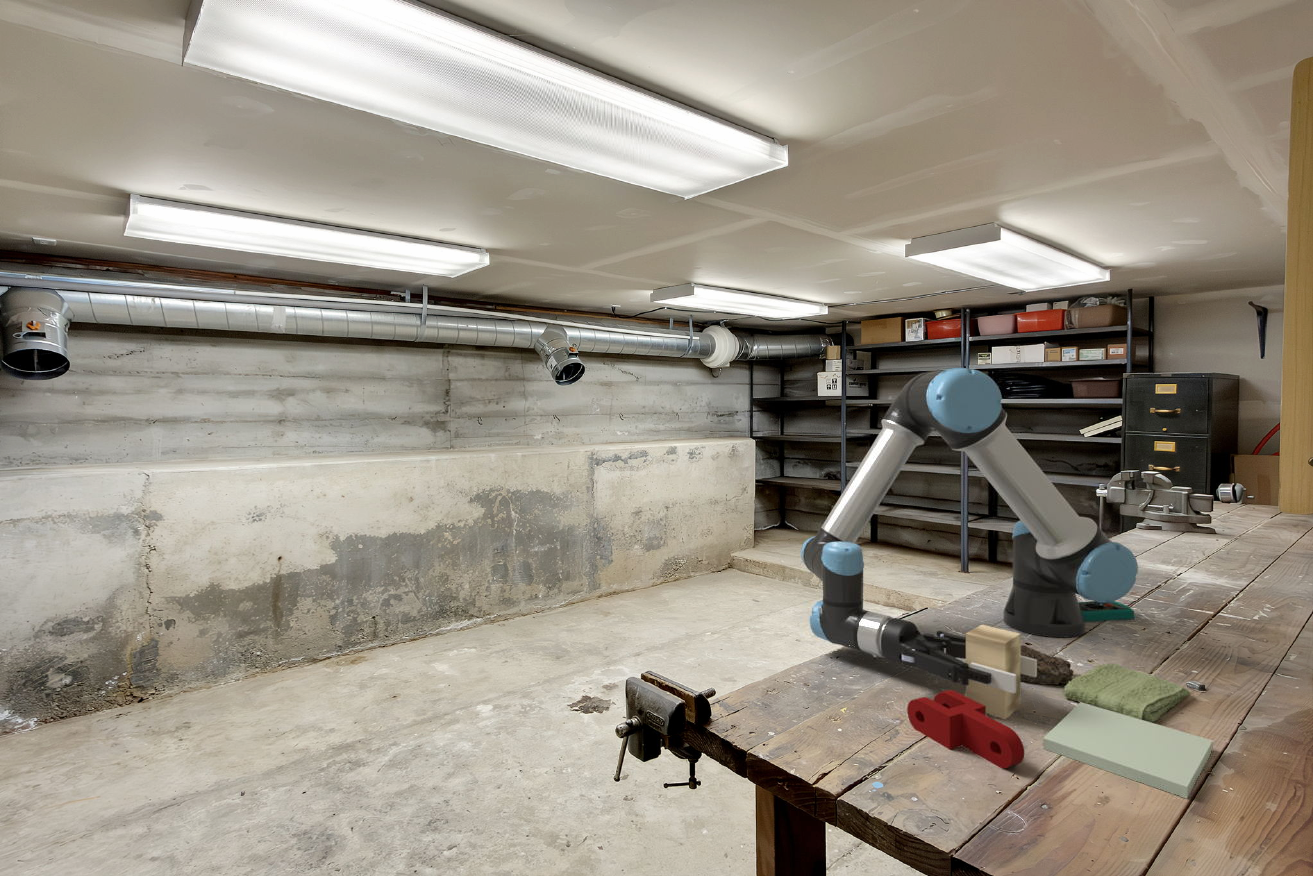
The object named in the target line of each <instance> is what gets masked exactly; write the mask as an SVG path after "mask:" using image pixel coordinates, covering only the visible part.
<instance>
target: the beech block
mask: <svg viewBox="0 0 1313 876" xmlns="http://www.w3.org/2000/svg"><path fill="white" fill-rule="evenodd" d="M1021 636H1022V635H1021V632H1020V633H1019V632H1015V631H1010V630H1008V629H1003V628H998V627H993V626H989V625H986V624H981V625H978V626H977V627H975V628H973V629H972V630H970V631H968V632H966V633H965V637H966V659H965V663H967V664H969V667H970V664H971V663H972V662H973V663H977V664H980V665H984V666H988V667H991V668H995V669H998V670H1002V671H1005V672H1009V673H1013V674H1016V693H1011V692H1007V691H1004V690H1001V689H997V688H994V687H991V686H988V685H984V684H981V683H978V682H974V681H971V680H970V679H969V685H965V696H966V697H968V698H970V699H972V700H974V701H976V702H978V703H980V704H982V705H984V706H986V715H987V714H988V715H991V716H993V717H997V718H1000V719H1003V720H1006V719H1008V718H1009V717H1010V716H1011V715H1012V714H1014V713H1015V712H1016V711H1017V710H1018V709H1020V708H1021V680H1020V664H1021V645H1022V644H1021V643H1022V642H1021Z"/></svg>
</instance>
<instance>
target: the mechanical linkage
mask: <svg viewBox="0 0 1313 876" xmlns="http://www.w3.org/2000/svg"><path fill="white" fill-rule="evenodd" d="M906 712H907V718H908V720H909V723H910V725H911V726H912V728H913V729H914V730H915V731H917V732H919V733H921V734H922V735H924V736H925V737H927V738H929V739H931V740H932V741H934V742H936V743H937V744H939V745H941V746H943V748H944V747H945V748H946V749H947V750H949V751H950V750H953V749H957V748H959V747H962V748H965V749H967V750H968V751H970V752H971V753H973V754H976V755H977V756H979V757H981V758H983V759H985V760H986V761H988V762H989V763H991V764H993V765H995V766H997V767H998V768H1000V769H1007V768H1010V767H1013V766H1015V765H1019V764H1021V763H1022V762H1023V760H1024V758H1025V748H1024V744H1023V741H1022V740H1021V738H1020V736H1019V735H1018V733H1016V731H1014V729H1012V728H1011V727H1010V726H1008V725H1006V724H1004V723H1002V722H999V721H997V720H996V719H993V718H991V717H990V716H988V715H987V713H986V706H984V705H982V704H980V703H978V702H976V701H974V700H972V699H970V698H968V697H966V695H964V694H962V693H960V692H958V691H956V690H953V689H949V690H944V691H941V692H937V693H935V695H934V698H933V699H931V698H929V697H926V696H922V697H918V698H914V699H911V700H910V701H909V703H908V704H907V708H906Z"/></svg>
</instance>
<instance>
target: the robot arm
mask: <svg viewBox="0 0 1313 876" xmlns="http://www.w3.org/2000/svg"><path fill="white" fill-rule="evenodd" d="M1002 400H1003V397H1002V393H1001V390H1000V388H999V386H998V385H997V383H996V382H995V381H994V380H993V379H992V378H991V376H989V375H987V374H986V373H984V372H982V371H980V370H977V369H972V368H966V367H965V368H964V367H954V368H948V369H945V370H932V371H925V372H923V373H919V374H918V375H915V377H913V378H912V379H910V380H909V381H908V382H907V383H906V384H905V385H904V386H903V388H902V389H901V390H900V392H899V393H898V394H897V396H896V397H895V398H894V400H893V402H892V403H891V405H890V407H889V408H888V410H886V413H885V414H884V416H883V417H882V419H881V421H880V422H881V425H882V429H881V430H880V432H879V434H878V435H877V436H876V438H875V440H874V442H873V443H872V445H871V447H870V448H869V450H868V451H867V453H866V455H865V456H864V458H862V459H863V460H862V461H861V463H860V464H859V466H858V467H857V468H856V471H855V472H854V474H853V475H852V477H851V479H850V481H849V482H848V483H847V485H846V487H845V488H844V490H843V491H842V493H841V495H840V497H839V498H838V500H837V502H836V503H835V504H834V506H833V508H832V510H831V511H830V513H829V514H828V516H827V517H826V519H825V521H824V523H823V524H822V525H821V527H820V528H819V530H818V531H817V533H816V534H815V536H812V537H809V538H808V539H807V540H805V541H804V543H803V544H802V546H801V550H800V557H801V560H802V562H803V564H804V566H805V567H806V568H807V569H808V571H809V572H811V573H812V574H813V575H815V576H816V578H818V579H819V580H820V581H821V582H822V600H819V601H817V602H815V604H814V605H813V607H812V609H811V615H810V616H809V627H810V629H811V632H812V634H814V636H816V637H817V638H819V639H822V640H824V641H827V642H829V643H831V644H834V645H839V646H842V647H847V648H850V649H853V650H858V651H860V652H861V653H862V652H863V653H866V654H870V655H872V657H873V658H878V657H880V658H883V659H884V658H885V659H887V661H891V662H894V663H898V664H901V665H903V666H907V667H910V668H915V669H918V670H920V671H923V672H926V673H929V674H931V675H934V676H936V677H939V678H942V679H944V680H947V681H949V682H952V683H954V684H958V683H961V686H962V685H963V686H966V685H969V679H970V680H971V681H974V682H978V683H981V684H984V685H988V686H991V687H994V688H997V689H1001V690H1004V691H1007V692H1011V693H1016V674H1013V673H1009V672H1005V671H1002V670H998V669H995V668H991V667H988V666H984V665H980V664H977V663H973V662H972V663H971V664H970V667H969V664H967V663H966V661H963V660H966V636H962V635H956V634H951V633H949V632H945V631H942V630H937V631H936V635H934V634H932V633H921V632H920V631H919V629H918V627H917V625H916V624H915V623H914V622H913V621H909V620H905V619H902V618H897V617H892V616H891V615H886V614H882V613H878V612H874V611H869V610H866V609H864V568H865V562H864V556H863V548H862V547H861V546H860V545H859V544H857V543H856V542H857V540H858V538H859V537H860V536H861V534H862V532H863V531H864V529H865V528H866V526H867V524H868V523H869V521H870V520H871V518H872V516H873V515H874V513H875V511H876V510H877V509H878V507H879V505H880V504H881V502H882V500H883V499H884V497H885V495H886V494H887V492H888V491H889V489H890V488H891V486H892V485H893V483H894V481H895V480H896V478H897V477H898V475H899V474H900V472H901V470H902V469H903V468H904V466H905V464H906V462H907V461H908V459H909V458H910V456H911V454H912V453H913V451H914V450H915V448H916V447H917V446H922V445H924V444H925V442H926V441H927V438H928V437H929V436H930V435H931V434H932V433H933V432H934V431H936V432H937V433H938V434H939V435H940V436H941V438H942V440H944V442H945V443H946V444H947V445H948V447H949V448H950V449H951V450H952V451H959V452H964V453H965V454H966V455H967V456H968V458H969V459H970V461H972V463H973V464H974V465H975V466H976V467H977V469H978V470H979V471H980V472H981V474H982V475H983V476H984V477H985V478H986V479H987V481H988V482H989V483H990V485H991V486H992V487H993V488H994V489H995V491H996V492H997V493H998V494H999V496H1000V497H1001V498H1002V500H1004V502H1005V503H1006V504H1007V505H1008V506H1009V508H1010V509H1011V510H1012V512H1013V513H1014V514H1015V515H1016V516H1017V517H1018V518H1019V520H1018V521H1017V522H1015V523H1014V525H1013V530H1012V537H1011V539H1012V589H1011V591H1010V593H1009V596H1008V598H1007V601H1006V604H1005V606H1004V609H1003V622H1004V623H1005V624H1006V625H1007V626H1009V627H1010V628H1013V629H1015V630H1016V631H1017V630H1018V631H1021V632H1024V633H1028V634H1032V635H1037V636H1043V637H1053V638H1072V637H1077V636H1081V635H1083V634H1085V633H1086V632H1085V631H1086V622H1085V619H1084V617H1083V614H1082V611H1081V608H1080V605H1079V603H1078V602H1079V600H1078V597H1077V595H1079V596H1081V597H1082V598H1083V599H1085V600H1088V601H1096V602H1102V603H1106V602H1107V603H1108V602H1113V601H1115V602H1117V601H1118V600H1121V599H1122V598H1123V597H1125V596H1126V595H1127V594H1129V592H1130V591H1132V589H1133V587H1134V585H1135V583H1136V581H1137V578H1136V577H1137V574H1138V571H1139V565H1138V560H1137V558H1136V555H1135V554H1134V552H1133V551H1131V549H1130V548H1128V547H1127V546H1125V545H1123V544H1122V543H1120V542H1117V541H1112V540H1111V539H1109V538H1108V536H1107V535H1106V534H1105V533H1104V532H1103V530H1102V529H1101V528H1100V526H1098V524H1097V523H1096V521H1094V520H1093V519H1092V518H1090V517H1085V516H1080V515H1078V513H1077V512H1076V511H1075V510H1074V508H1073V507H1072V506H1071V505H1070V503H1069V502H1068V501H1067V500H1066V498H1064V496H1063V495H1062V494H1061V493H1060V491H1059V490H1058V489H1057V487H1056V486H1055V485H1054V484H1053V483H1052V481H1051V480H1050V479H1049V478H1048V477H1047V475H1046V474H1045V472H1043V470H1042V469H1041V467H1040V466H1039V465H1038V464H1037V463H1036V462H1035V460H1034V459H1033V458H1032V457H1031V455H1030V454H1029V453H1028V452H1027V450H1026V449H1025V448H1024V447H1023V446H1022V444H1021V443H1020V442H1019V440H1017V438H1016V437H1015V436H1014V435H1013V433H1012V432H1011V431H1010V429H1008V427H1007V426H1006V421H1007V417H1008V413H1007V412H1006V411H1005V409H1004V408H1003V407H1002V406H1003V405H1002ZM849 645H850V646H849ZM961 659H963V660H961ZM1020 673H1021V674H1024V675H1028V676H1032V677H1036V676H1037V659H1033V658H1029V657H1025V656H1021V664H1020ZM960 680H961V682H960Z"/></svg>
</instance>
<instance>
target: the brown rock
mask: <svg viewBox="0 0 1313 876" xmlns="http://www.w3.org/2000/svg"><path fill="white" fill-rule="evenodd" d="M1021 656H1025V657H1029V658H1033V659H1037V676H1036V677H1032V676H1028V675H1024V674H1021V673H1020V682H1027V683H1036V684H1040V685H1059V684H1060V683H1061V684H1065V685H1067V684H1068V683H1069V681H1071V680H1073V676H1074V670H1073V669H1071V667H1072V666H1071V663H1070V661H1068V660H1066V659H1064V658H1062V657H1057V656H1052V655H1051V656H1050V655H1048V654H1046V653H1044V652H1041V651H1040V650H1037V649H1036V650H1035V649H1034V648H1031V647H1028V646H1027V645H1023V644H1021Z"/></svg>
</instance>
